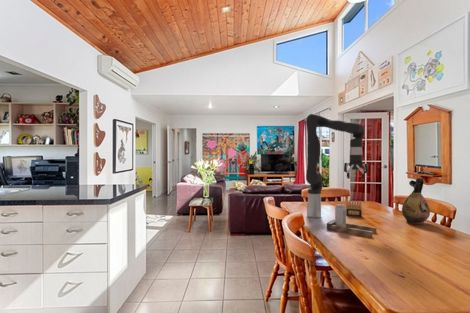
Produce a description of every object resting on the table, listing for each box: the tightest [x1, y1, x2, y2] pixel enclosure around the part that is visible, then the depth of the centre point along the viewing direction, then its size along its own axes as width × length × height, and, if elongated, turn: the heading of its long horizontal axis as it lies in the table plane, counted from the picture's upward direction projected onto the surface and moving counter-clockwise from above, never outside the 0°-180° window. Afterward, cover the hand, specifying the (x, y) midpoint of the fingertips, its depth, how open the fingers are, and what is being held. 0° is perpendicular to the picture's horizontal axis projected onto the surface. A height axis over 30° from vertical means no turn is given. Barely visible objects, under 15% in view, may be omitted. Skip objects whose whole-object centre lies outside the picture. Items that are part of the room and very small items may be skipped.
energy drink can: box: [334, 203, 347, 227], centre depth 161 cm, size 6×6×15 cm
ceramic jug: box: [401, 177, 431, 225], centre depth 175 cm, size 17×15×30 cm
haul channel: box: [326, 218, 378, 238], centre depth 157 cm, size 25×12×4 cm, turn 50°
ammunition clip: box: [345, 199, 363, 218], centre depth 196 cm, size 11×2×12 cm, turn 65°
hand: (355, 179), depth 171 cm, fingers open, 8 cm apart
